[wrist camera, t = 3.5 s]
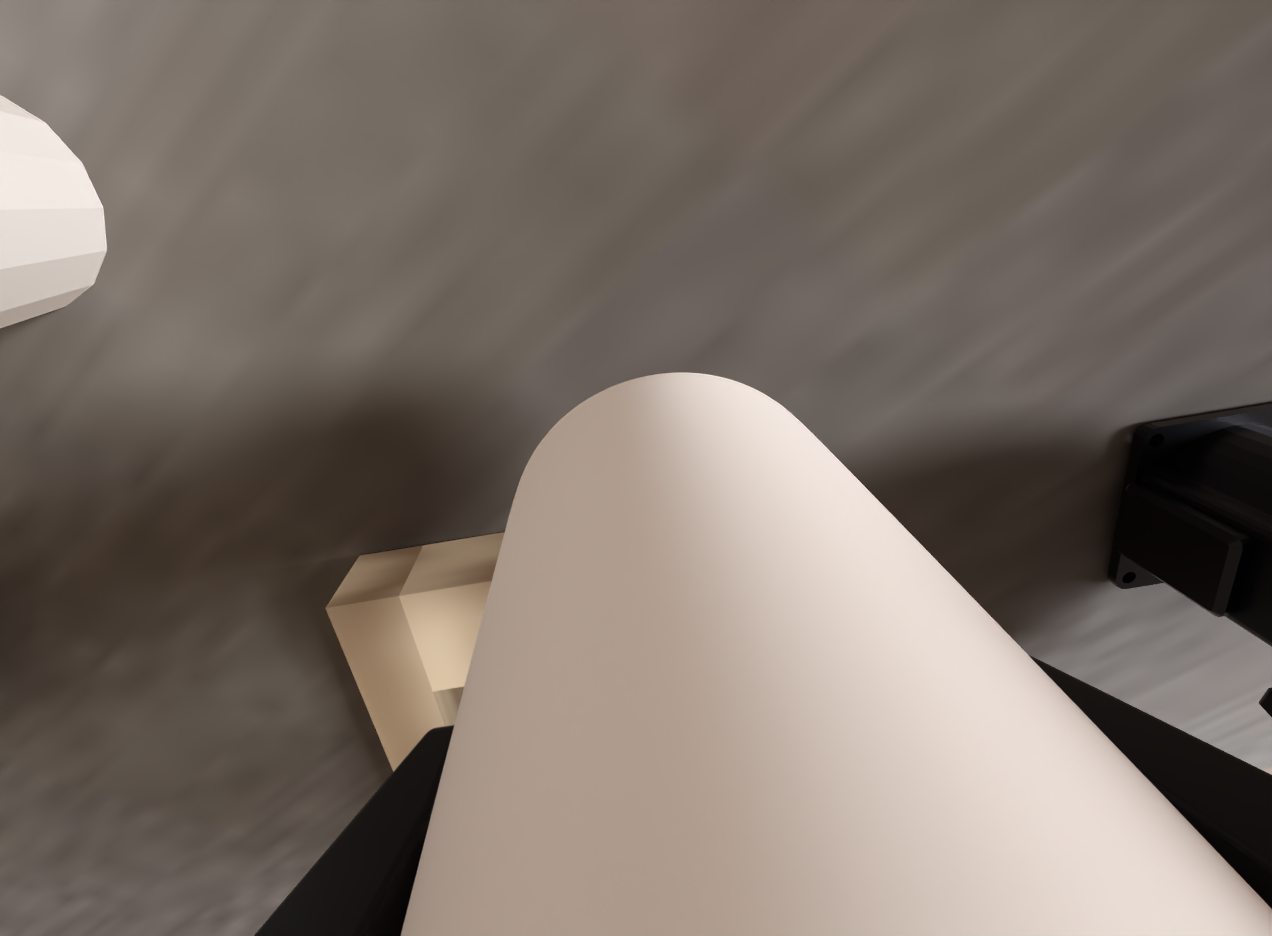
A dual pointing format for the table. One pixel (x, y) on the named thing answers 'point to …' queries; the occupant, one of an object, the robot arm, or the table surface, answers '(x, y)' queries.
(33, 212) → the white cup
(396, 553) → the frame
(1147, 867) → the can
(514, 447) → the table surface
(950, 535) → the table surface
